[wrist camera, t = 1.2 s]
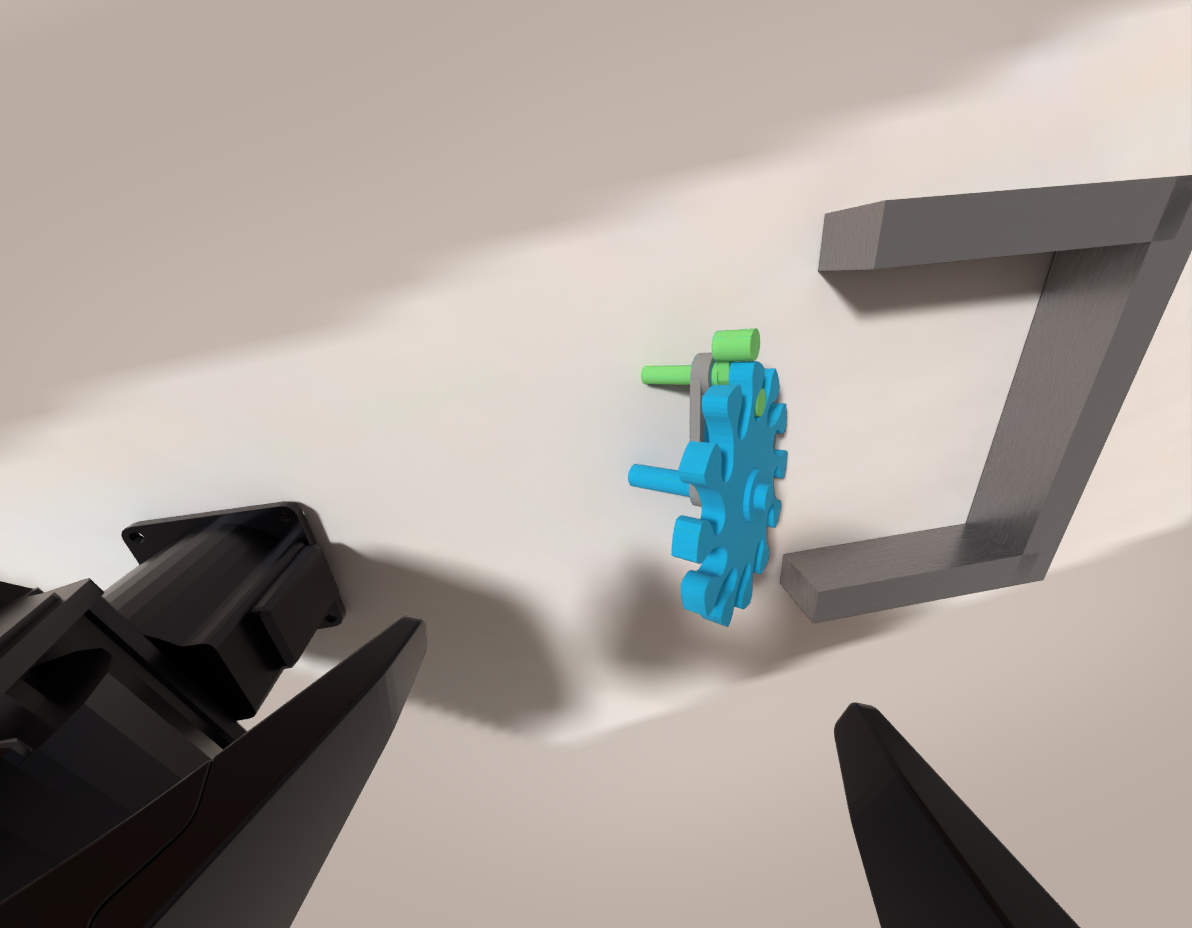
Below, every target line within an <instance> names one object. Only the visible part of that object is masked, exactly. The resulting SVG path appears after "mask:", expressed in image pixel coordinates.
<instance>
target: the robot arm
mask: <svg viewBox="0 0 1192 928" xmlns="http://www.w3.org/2000/svg"><path fill="white" fill-rule="evenodd" d="M282 511H284V512H287V513H289V514H290V516H291V517H287V516H285V515H284V514H283V513H282ZM139 533H140V534H142V535H143V536H144V537H143V536H141V535H140V534H139ZM121 536H122V538H123V540H124V542H125V543H126V545H127V546H128V548H129V549H130V551H131V552H132V554H133V555H134V557H135V558H136V560H137V561H138V563H139V566H138V567H136V568H135V569H134V570H132V571H131V572H130V573H128V574H127V575H126V576H124V577H123V578H121V579H120V580H119V581H117V582H116V583H115V584H113V585H112V586H111V587H109V588H108V589H107V590H105V591H103V590H102V589H100V588H99V587H98V586H97V585H96V584H95V583H94V582H93V581H92V580H91V579H90V578H87V579H84V580H81V581H78V582H75V583H72V584H69V585H66V586H63V587H60V588H57V589H54V590H51V591H48V592H45V593H44V592H43V591H42V590H41V589H39V588H38V587H37V588H34V589H32V588H27V587H23V586H19V585H14V584H10V583H5V582H1V581H0V928H290V926H291V924H292V922H293V920H294V919H295V917H296V915H297V912H298V911H299V909H300V907H301V905H302V903H303V901H304V900H305V898H306V896H307V894H308V892H309V890H310V888H311V886H312V884H313V882H314V881H315V879H316V877H317V875H318V873H319V871H320V869H321V867H322V865H323V863H324V862H325V860H326V858H327V856H328V854H329V852H330V850H331V848H332V846H333V844H334V843H335V841H336V839H337V837H338V835H339V833H340V831H341V829H342V827H343V825H344V824H345V822H346V820H347V818H348V816H349V814H350V812H351V810H352V809H353V807H354V805H355V803H356V801H357V799H358V797H359V795H360V793H361V791H362V790H363V788H364V786H365V784H366V782H367V780H368V778H369V776H370V774H371V772H372V770H373V769H374V767H375V765H376V763H377V761H378V759H379V757H380V755H381V754H382V752H383V750H384V748H385V746H386V744H387V742H388V740H389V738H390V736H391V734H392V732H393V730H394V728H395V725H396V723H397V721H398V718H399V716H400V713H401V711H402V709H403V706H404V704H405V701H406V699H407V696H408V694H409V692H410V689H411V687H412V684H413V682H414V679H415V677H416V674H417V672H418V670H419V667H420V665H421V662H422V660H423V657H424V655H425V652H426V647H427V637H426V624H425V620H424V619H423V618H419V617H414V616H409V615H407V616H403V617H402V618H400V619H399V620H397V621H396V622H395V623H393V624H392V625H391V626H389V627H388V628H387V629H385V630H384V631H383V632H381V633H380V634H379V635H377V636H376V637H374V638H373V639H372V640H370V641H369V642H368V643H366V644H365V645H364V646H362V647H361V648H360V649H358V650H357V651H356V652H354V653H353V654H352V655H350V656H349V657H348V658H346V659H345V660H343V661H342V662H341V663H339V664H338V665H337V666H335V667H334V668H333V669H331V670H330V671H329V672H327V673H326V674H325V675H323V676H322V677H321V678H319V679H318V680H317V681H315V682H314V683H312V684H311V685H310V686H308V687H307V688H306V689H304V690H303V691H302V692H300V693H299V694H298V695H296V696H295V697H294V698H292V699H291V700H290V701H288V702H287V703H286V704H284V705H283V706H281V707H280V708H279V709H277V710H276V711H275V712H274V713H272V714H271V715H269V716H268V717H267V718H265V719H264V720H263V721H261V722H260V723H259V724H257V725H256V726H255V727H253V728H252V729H250V730H249V731H247V730H246V729H244V728H243V727H242V726H241V725H240V724H239V723H238V722H237V721H238V720H244V719H249V718H252V717H254V716H255V714H256V713H257V711H258V710H259V708H260V707H261V705H262V703H263V702H264V700H265V699H266V697H267V696H268V694H269V692H270V691H271V689H272V687H273V686H274V684H275V683H276V681H277V680H278V678H279V676H280V675H281V673H282V672H283V670H284V669H287V668H292V667H293V666H294V665H295V664H296V662H297V661H298V660H299V658H300V656H301V655H302V653H303V651H304V650H305V648H306V646H307V645H308V643H309V641H310V640H311V638H312V636H313V635H314V633H315V631H316V630H317V629H322V628H328V627H334V626H337V625H339V624H340V623H341V622H342V621H343V619H344V617H345V615H346V611H345V608H344V606H343V603H342V601H341V599H340V597H339V594H338V593H339V589H338V587H337V584H336V582H335V580H334V577H333V575H332V573H331V571H330V568H329V566H328V564H327V561H326V559H325V557H324V554H323V552H322V550H321V548H320V547H319V546H317V544H316V542H315V539H314V537H313V535H312V533H311V530H310V528H309V526H308V523H307V521H306V519H305V517H304V514H303V512H302V510H301V508H300V507H299V506H298V505H296V504H295V503H292V502H285V501H284V502H277V503H270V504H263V505H255V506H248V507H241V508H234V509H226V510H219V511H212V512H205V513H198V514H190V515H183V516H176V517H169V518H162V519H154V520H147V521H140V522H136V523H133V524H132V525H130V526H129V527H127V528H125V529H124V530H123V531H122V535H121ZM330 614H333V615H335V616H332V615H330ZM834 737H835V742H836V748H837V753H838V758H839V763H840V768H841V773H842V779H843V783H844V789H845V794H846V799H847V804H848V809H849V814H850V819H851V823H852V827H853V830H854V834H855V838H856V841H857V845H858V848H859V851H860V855H861V859H862V862H863V866H864V869H865V873H866V876H867V880H868V883H869V886H870V890H871V894H872V897H873V901H874V904H875V907H876V911H877V915H878V918H879V922H880V925H881V928H1080V927H1079V926H1078V925H1077V924H1076V922H1075V921H1074V920H1073V919H1072V918H1071V917H1070V916H1069V915H1068V914H1067V913H1066V912H1065V911H1064V910H1063V909H1062V907H1060V905H1059V904H1058V903H1057V902H1056V901H1055V900H1054V899H1053V898H1052V897H1051V896H1050V895H1049V893H1048V892H1047V891H1045V889H1044V888H1043V887H1042V886H1041V885H1040V884H1039V883H1038V882H1037V880H1035V878H1034V877H1033V876H1032V875H1031V874H1030V873H1029V872H1028V871H1027V870H1026V869H1025V868H1024V866H1022V864H1021V863H1020V862H1019V861H1018V860H1017V859H1016V858H1015V857H1014V856H1013V855H1012V854H1011V852H1010V851H1009V850H1008V849H1007V848H1006V847H1005V846H1004V845H1003V844H1002V843H1001V842H1000V841H999V840H998V838H997V837H996V836H995V835H994V834H993V833H992V832H991V831H990V830H989V829H988V828H987V827H986V826H985V825H984V824H983V822H982V821H981V820H980V819H979V818H978V817H977V816H976V815H975V814H974V813H973V812H972V810H971V809H970V808H969V807H968V806H967V805H966V804H965V803H964V802H963V801H962V800H961V799H960V798H959V796H958V795H957V794H956V793H955V792H954V791H953V790H952V789H951V788H950V787H949V786H948V785H947V784H946V782H945V781H944V780H943V779H942V778H941V777H940V776H939V775H938V774H937V773H936V772H935V771H934V770H933V768H932V767H931V766H930V765H929V764H928V763H927V762H926V761H925V760H924V759H923V758H922V757H921V756H920V754H919V753H918V752H916V750H915V749H914V748H913V747H912V746H911V745H910V744H909V743H908V742H907V740H906V739H905V738H904V737H903V736H902V735H901V734H900V733H899V732H898V731H897V730H896V729H895V728H894V726H892V724H891V723H890V722H889V721H888V720H887V719H886V718H885V717H884V716H883V715H882V714H881V713H880V711H879V710H877V709H876V708H875V707H873V706H870V705H866V704H860V703H851V704H850V705H849V706H848V707H847V709H846V710H845V711H844V713H843V714H842V715H841V717H840V718H839V719H838V721H837V722H836V724H835V728H834Z"/></svg>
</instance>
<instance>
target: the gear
mask: <svg viewBox="0 0 1192 928" xmlns="http://www.w3.org/2000/svg"><path fill="white" fill-rule="evenodd" d="M759 349H760V335H759V331H758V329H741V330H725V331H716V332H715V334H714V336H713V339H712V353H699V354H697V355H696V356H695V358H694V360H693V362H692V365H684V366H645V367H644V368H643V369H642V373H641V378H642V382H643V383H644V384H673V385H690V442H689V444H688V445H687V447H686V449H685V452H684V454H683V457H682V460H681V463H680V466H679V470H671V469H665V468H658V467H651V466H645V465H638V464H634V465H633V466H632V467H631V468H630V471H629V475H628V481H629V484H630V485H631V486H634V487H640V488H645V489H650V490H656V491H661V492H666V493H672V494H677V495H682V496H688V497H690V500H691V503H692V504H693V505H695V506H700V507H702V514H701V519H697V518H692V517H688V516H683V515H682V516H679V517H678V518H677V519H676V522H675V526H674V532H673V540H672V553H671V555H672V556H674V557H677V558H681V559H684V560H688V561H691V562H695V563H698V564H701V563H702V565H701V567H700V568H699V569H698V570H697V571H693V570H690V571H688V572H687V573H686V575H685V576H684V578H683V580H682V583H681V597H682V602H683V606H684V609H687V610H689V611H692V612H695V613H698V614H700V615H701V616H702V617H703V618H704V619H707V620H710V621H713V622H715V623H718V624H721V625H724V626H726V627H728V626H729V624H730V621H731V618H732V614H733V609H734V607H737V608H740V609H745V608H746V607H747V606H748V605H749V604H750V601H751V597H752V589H753V587H752V578H753V572H754V573H757V574H762V573H763V571H764V569H765V567H766V564H767V562H768V559H769V548H768V545H767V539H766V528H767V526H769V527H774V528H776V525H777V522H778V519H779V515H780V510H781V501H780V500H777V499H776V497H775V494H774V488H773V477H775V478H783V477H784V475H785V470H786V463H787V454H788V453H787V451H786V450H776V449H773V443H774V437H775V433H780V434H783V433H784V431H785V428H786V419H787V410H786V404H783V403H773V402H775V401H776V399H777V397H778V393H779V388H780V385H779V378H778V374H777V371H776V369H764V367H763V365H762V364H761V363H760V362H757V361H755V360H756V359H757V357H758V354H759ZM734 361H739V362H734Z"/></svg>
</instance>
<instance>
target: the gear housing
mask: <svg viewBox="0 0 1192 928" xmlns="http://www.w3.org/2000/svg"><path fill="white" fill-rule="evenodd" d="M1052 251H1056V253H1055V256H1054V259H1053V262H1052V265H1051V268H1050V271H1049V274H1048V277H1047V280H1046V283H1045V286H1044V289H1043V292H1042V295H1041V298H1040V301H1039V304H1038V307H1037V310H1036V313H1035V317H1034V320H1033V323H1032V326H1031V329H1030V332H1029V335H1028V338H1027V341H1026V344H1025V347H1024V350H1023V353H1022V356H1021V359H1020V362H1019V365H1018V368H1017V371H1016V374H1015V377H1014V380H1013V383H1012V386H1011V389H1010V392H1009V395H1008V398H1007V401H1006V404H1005V407H1004V410H1003V413H1002V416H1001V419H1000V422H999V425H998V429H997V432H996V435H995V438H994V441H993V444H992V447H991V450H990V453H989V456H988V459H987V462H986V465H985V468H984V471H983V474H982V477H981V480H980V483H979V486H978V489H977V492H976V495H975V498H974V501H973V504H972V507H971V510H970V513H969V516H968V519H967V522H966V524H961V525H955V526H949V527H943V528H937V529H931V530H926V531H920V532H914V533H908V534H902V535H896V536H890V537H884V538H878V539H872V540H866V541H860V542H854V543H849V544H843V545H837V546H831V547H825V548H819V549H813V550H807V551H801V552H795V553H789V554H784V555H783V563H782V572H781V580H780V584H781V585H782V587H783V588H784V589H785V590H786V591H787V593H788V594H789V595H790V596H791V597H792V599H793V600H794V601H795V602H796V604H797V605H798V606H799V607H800V608H801V610H802V611H803V612H804V613H805V614H806V616H807V617H808V618H809V619H810V620H811V622H812V623H817V622H823V621H828V620H833V619H839V618H844V617H849V616H855V615H860V614H865V613H871V612H876V611H881V610H887V609H892V608H897V607H903V606H908V605H913V604H919V603H924V602H929V601H935V600H940V599H945V598H951V597H956V596H961V595H967V594H972V593H977V592H983V591H988V590H993V589H999V588H1004V587H1009V586H1015V585H1020V584H1025V583H1031V582H1036V581H1041V580H1044V578H1045V575H1046V573H1047V571H1048V569H1049V566H1050V564H1051V562H1052V560H1053V558H1054V555H1055V553H1056V551H1057V549H1058V546H1059V544H1060V542H1061V540H1062V538H1063V535H1064V533H1065V531H1066V529H1067V526H1068V524H1069V522H1070V520H1071V518H1072V515H1073V513H1074V511H1075V509H1076V506H1077V504H1078V502H1079V500H1080V498H1081V495H1082V493H1083V491H1084V489H1085V486H1086V484H1087V482H1088V480H1089V478H1090V475H1091V473H1092V471H1093V469H1094V466H1095V464H1096V462H1097V460H1098V458H1099V455H1100V453H1101V451H1102V449H1103V446H1104V444H1105V442H1106V440H1107V438H1108V435H1109V433H1110V431H1111V429H1112V426H1113V424H1114V422H1115V420H1116V418H1117V415H1118V413H1119V411H1120V409H1121V406H1122V404H1123V402H1124V400H1125V398H1126V395H1127V393H1128V391H1129V389H1130V386H1131V384H1132V382H1133V380H1134V378H1135V375H1136V373H1137V371H1138V369H1139V366H1140V364H1141V362H1142V360H1143V358H1144V355H1145V353H1146V351H1147V349H1148V346H1149V344H1150V342H1151V340H1152V338H1153V335H1154V333H1155V331H1156V329H1157V326H1158V324H1159V322H1160V320H1161V318H1162V315H1163V313H1164V311H1165V309H1166V306H1167V304H1168V302H1169V300H1170V298H1171V295H1172V293H1173V291H1174V289H1175V286H1176V284H1177V282H1178V280H1179V278H1180V275H1181V273H1182V271H1183V269H1184V266H1185V264H1186V262H1187V260H1188V258H1189V255H1190V253H1191V251H1192V175H1187V176H1175V177H1163V178H1151V179H1139V180H1126V181H1114V182H1102V183H1090V184H1078V185H1066V186H1054V187H1042V188H1030V189H1018V190H1006V191H994V192H982V193H969V194H957V195H945V196H933V197H921V198H909V199H897V200H885V201H881V202H876V203H872V204H867V205H863V206H858V207H854V208H849V209H844V210H840V211H835V212H831V213H826V214H825V219H824V227H823V236H822V244H821V252H820V260H819V268H818V271H834V270H869V269H882V268H892V267H902V266H912V265H922V264H932V263H942V262H952V261H962V260H972V259H982V258H992V257H1002V256H1012V255H1022V254H1032V253H1042V252H1052Z"/></svg>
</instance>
